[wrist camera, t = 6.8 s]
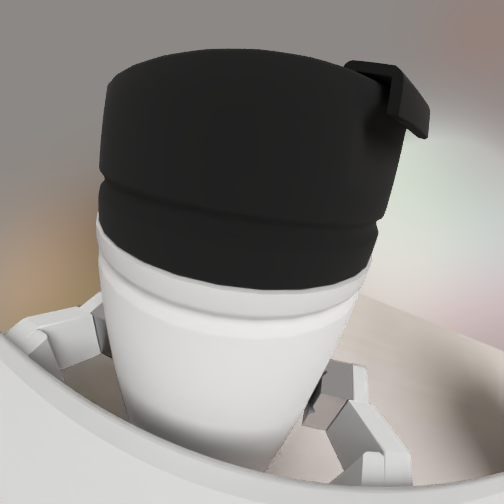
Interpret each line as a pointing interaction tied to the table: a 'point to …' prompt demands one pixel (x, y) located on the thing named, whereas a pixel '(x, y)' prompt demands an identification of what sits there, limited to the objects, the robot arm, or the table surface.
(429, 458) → the table surface
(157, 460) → the robot arm
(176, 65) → the travel mug
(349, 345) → the table surface
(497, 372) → the table surface
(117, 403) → the table surface
